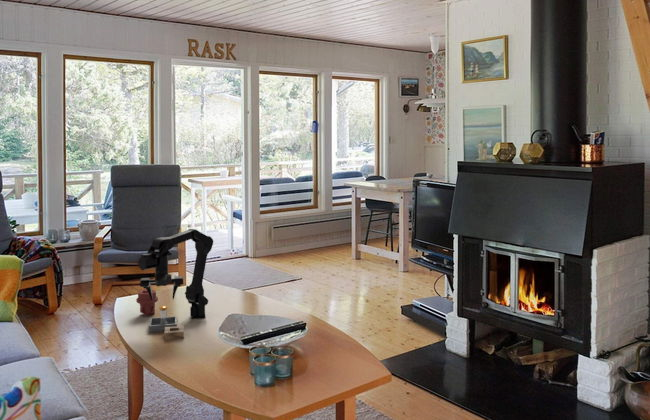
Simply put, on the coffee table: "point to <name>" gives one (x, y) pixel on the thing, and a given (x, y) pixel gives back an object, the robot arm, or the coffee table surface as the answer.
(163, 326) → the tray
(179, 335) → the block
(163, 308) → the lock pin
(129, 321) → the coffee table surface
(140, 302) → the mechanical component
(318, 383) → the coffee table surface
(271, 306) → the coffee table surface
